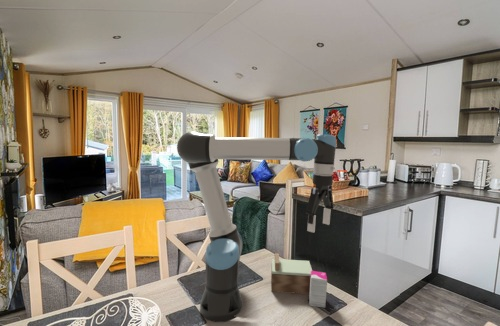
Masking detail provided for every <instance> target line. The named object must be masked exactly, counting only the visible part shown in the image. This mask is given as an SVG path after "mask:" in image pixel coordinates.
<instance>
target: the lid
mask: <svg viewBox="0 0 500 326" xmlns="http://www.w3.org/2000/svg"><path fill="white" fill-rule="evenodd" d="M271 269H272V274H283V275H299V276H311V271H313V269H312V265H311V263H310V260H297V259H286V258H285V259H284V258H280V254H279V253H278V252H275V253H274V258H271Z"/></svg>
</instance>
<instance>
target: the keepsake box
mask: <svg viewBox="0 0 500 326" xmlns="http://www.w3.org/2000/svg"><path fill="white" fill-rule="evenodd" d="M270 276H271V279H270V283H271V285H270V287H271V288H270V289H271V290H270V291H271V292H272V293H286V294H287V293H288V294H303V295H305V294H306V295H309V290H310V277H311V276H299V275H283V274H272V268H271V273H270Z"/></svg>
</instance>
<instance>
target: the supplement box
mask: <svg viewBox="0 0 500 326" xmlns="http://www.w3.org/2000/svg"><path fill="white" fill-rule="evenodd" d="M327 289H328V277H327V273H326V272H323V271H316V270H312V271H311V277H310V290H309V294H308V304H309V306H312V307H318V308H319V307H320V308H326V303H327Z"/></svg>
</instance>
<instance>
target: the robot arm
mask: <svg viewBox="0 0 500 326" xmlns="http://www.w3.org/2000/svg"><path fill="white" fill-rule="evenodd" d="M336 148H337V137H336V136H335V135H334V134H320V133H319V134H316V136H315V138H314V139H312V138H310V137H303V138H302V137H299V138H298V137H238V136H237V137H234V136H233V137H231V136H230V137H227V136H226V137H225V136H224V137H223V136H222V137H221V136H220V137H218V136H216V135H214V134H213V133H211V134H210V133H207V132H203V131H187V132H185V133H183V134H182V135H181V136H180V138H179V139H178V140H177V144H176V150H177V154H178V157H180V158H181V160H182V161H184V162H185V163H187V164H188V166H189V170H191V171H192V172H194V174H195V177H196V180H197V184H198V187H199V191H200V194H201V195H200V196H201V198H202V202H203V205H204V208H205V209H204V210H205V213H206V215H207V220H208V223H209V226H210V231H209V233H208V237H209V240H210V242H209V243H208V244H207V246H206V249H205V254H204V259H205V287H204V290H203V293H202V296H201V299H200V304H199V305H200V308H199V311H200V314H201V315H202V317H204V318H205V319H206V320H209V321H211V322H212V321H213V322H217V323H218V322H228V321H230V320H234V319H235V318H236V315H238V314H239V313H240V312H241V311H242V309H243V302H244V301H243V298H242V295H241V291H240V289H239V266H240V260H241V255H242V251H243V247H244V242H243V239H242V236H241V234H240V233H239V231H238V227H237V225H236V224H234V223H233V222H232V220H231V216H230V215H231V214H230V212H229V209H228V204H227V201H226V198H225V194H224V190H223V187H222V183H221V180H220V177H219V173H218V168H217V165H219V162H220V161H219V160H246V161H247V160H249V161H250V160H253V161H257V160H261V161H263V160H264V161H301V162H310V161H312V160H314V161H313V170H312V171H313V172H312V173H314V174H313V175H312V184H313V185H315V187H312V188H311V189H310V195H309V198H308V202H307V205H306V209H305V214H306V215H308V216H307V230H306V231H307V232H309V233H313V234H314V233H315V231H316V217H317V215H316V213H317V210H318V208H319V206H320V203H321V201H323V205H324V208H323V213H322V225H324V224H325V225H327V226H330V222H331V213H332V212H331V211H332V210H334V198H333V184H334V176H333V175H334V170H335V169H336V168H335V159H336Z"/></svg>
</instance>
